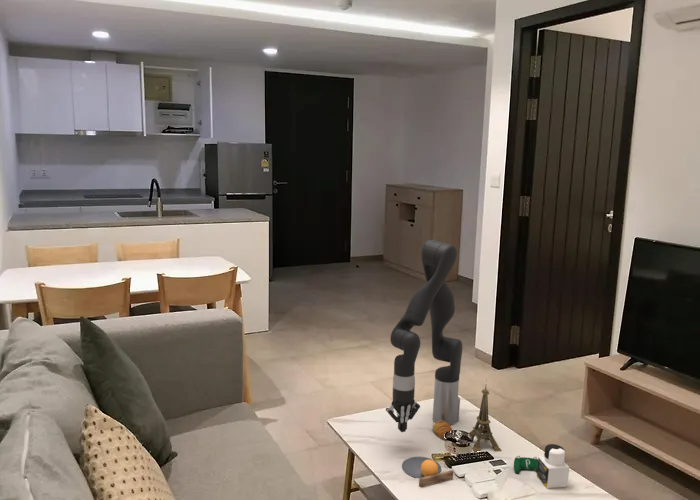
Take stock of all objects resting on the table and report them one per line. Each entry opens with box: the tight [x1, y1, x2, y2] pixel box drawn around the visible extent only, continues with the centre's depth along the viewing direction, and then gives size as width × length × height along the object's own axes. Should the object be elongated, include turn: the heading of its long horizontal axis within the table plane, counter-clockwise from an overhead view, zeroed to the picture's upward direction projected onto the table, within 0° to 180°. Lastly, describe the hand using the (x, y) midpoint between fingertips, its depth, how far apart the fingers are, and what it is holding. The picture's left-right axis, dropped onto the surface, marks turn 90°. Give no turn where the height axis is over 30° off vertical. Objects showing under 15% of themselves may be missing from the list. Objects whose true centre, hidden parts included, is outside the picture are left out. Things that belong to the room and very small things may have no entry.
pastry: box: [432, 421, 453, 441], centre depth 218 cm, size 9×7×4 cm
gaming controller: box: [513, 455, 538, 475], centre depth 196 cm, size 9×4×6 cm
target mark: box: [401, 456, 442, 479], centre depth 196 cm, size 13×13×1 cm
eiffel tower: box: [468, 379, 503, 453], centre depth 209 cm, size 11×11×25 cm
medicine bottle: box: [536, 443, 570, 489], centre depth 188 cm, size 7×7×12 cm
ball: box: [421, 459, 438, 477], centre depth 190 cm, size 6×6×6 cm
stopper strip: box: [418, 469, 454, 488], centre depth 187 cm, size 12×1×2 cm, turn 114°
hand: (402, 430), depth 207 cm, fingers closed
